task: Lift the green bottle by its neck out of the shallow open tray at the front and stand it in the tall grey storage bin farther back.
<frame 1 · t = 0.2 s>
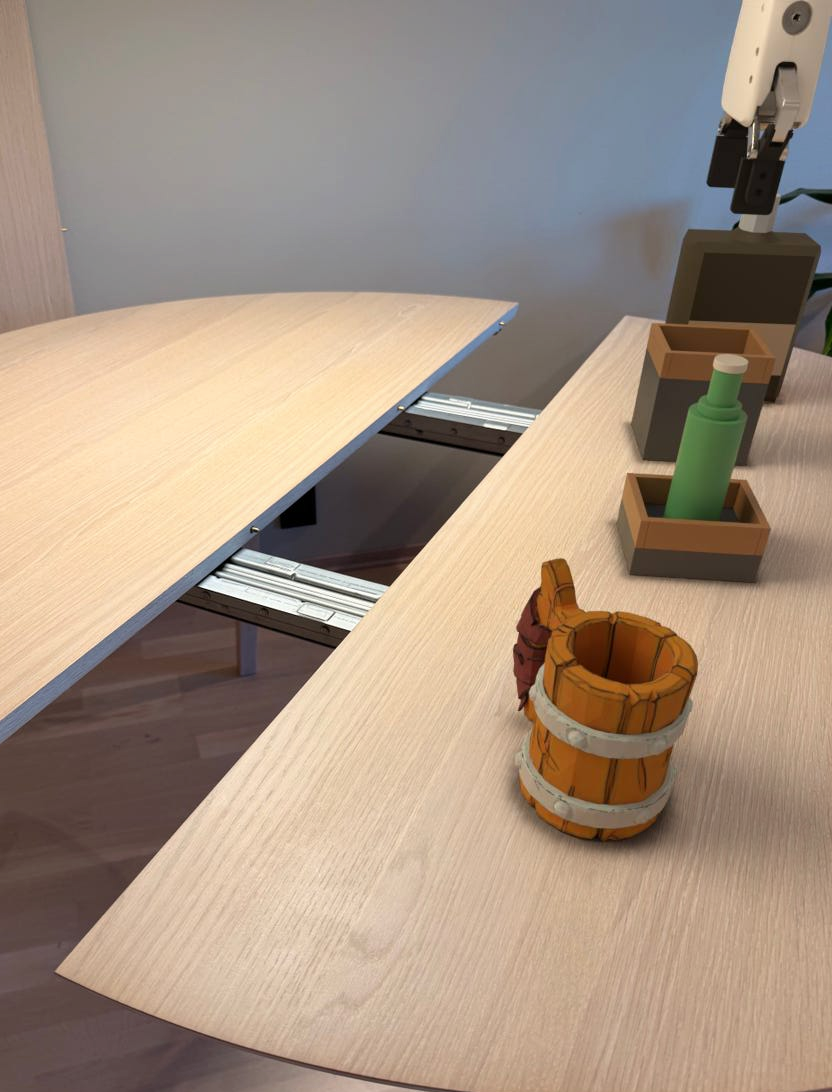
hand: (736, 199, 82), 33 cm above the table, tool pointing down, fingers open, 9 cm apart
shallow open tray: (682, 552, 99), on the table
mug: (570, 769, 74), on the table
green bottle: (689, 526, 97), point 3 cm above the table, touching shallow open tray
bottle: (714, 392, 134), on the table
grey storage bin: (686, 444, 120), on the table
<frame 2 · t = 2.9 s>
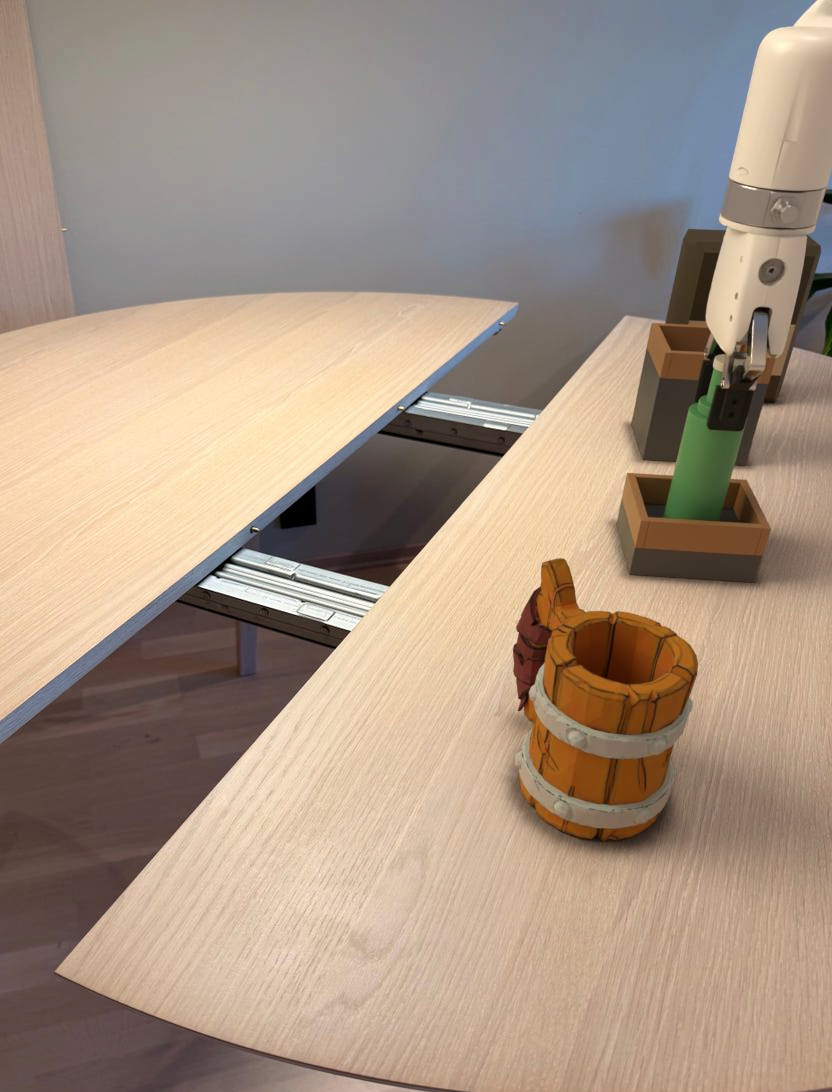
hand: (717, 413, 90), 15 cm above the table, tool pointing down, fingers closed on green bottle, 5 cm apart
green bottle: (689, 526, 97), point 3 cm above the table, touching gripper, shallow open tray
everything else where it was.
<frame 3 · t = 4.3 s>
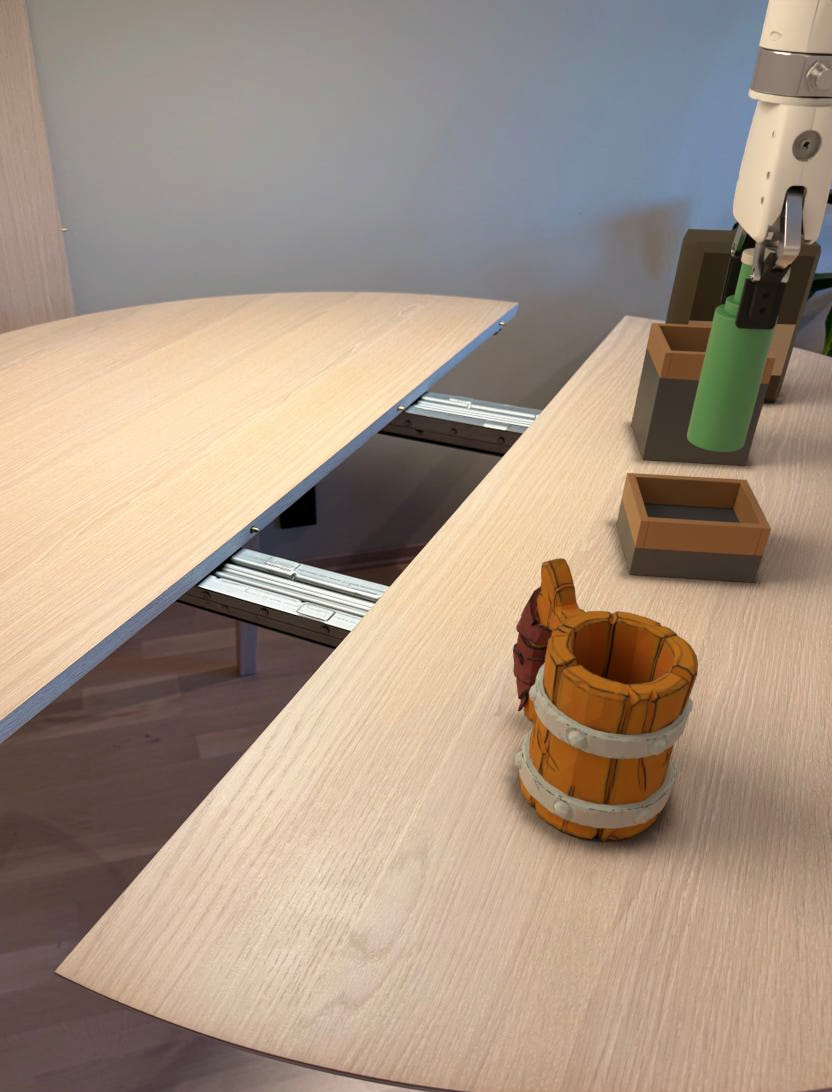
hand: (746, 313, 85), 24 cm above the table, tool pointing down, fingers closed on green bottle, 5 cm apart
green bottle: (715, 440, 92), point 12 cm above the table, touching gripper
everything else where it was.
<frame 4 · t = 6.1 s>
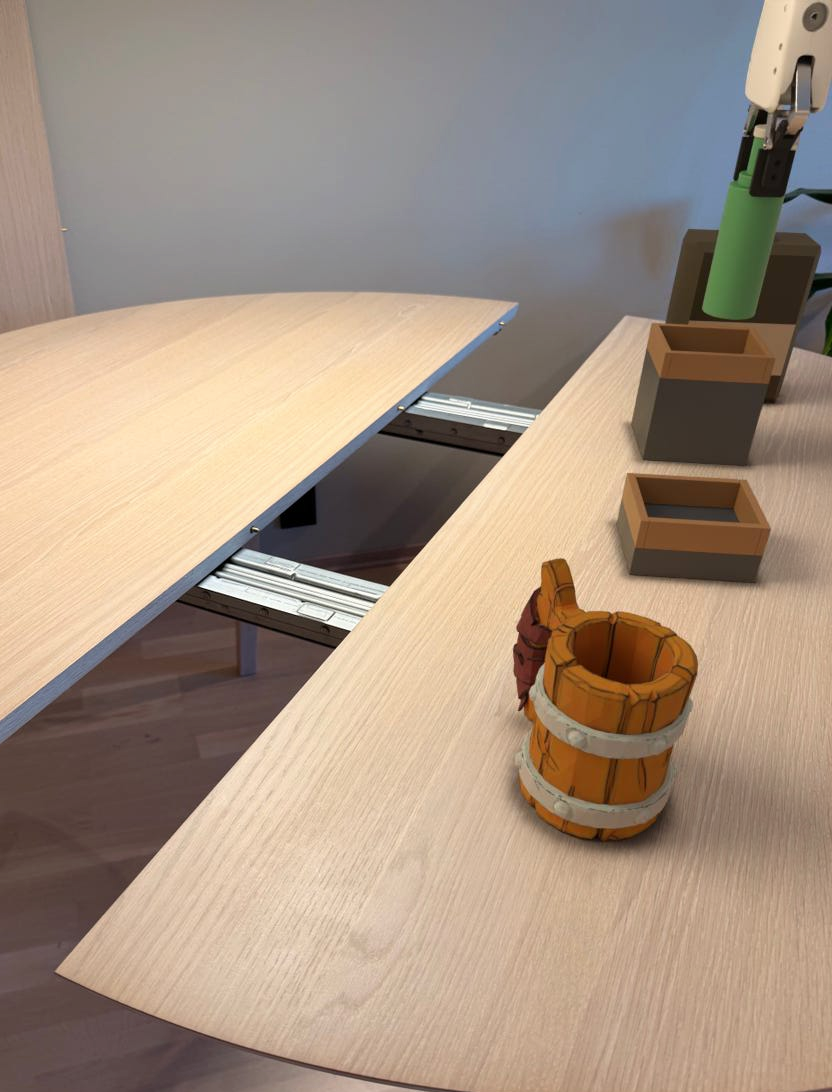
hand: (757, 187, 94), 31 cm above the table, tool pointing down, fingers closed on green bottle, 5 cm apart
green bottle: (728, 311, 101), point 19 cm above the table, touching gripper
everything else where it was.
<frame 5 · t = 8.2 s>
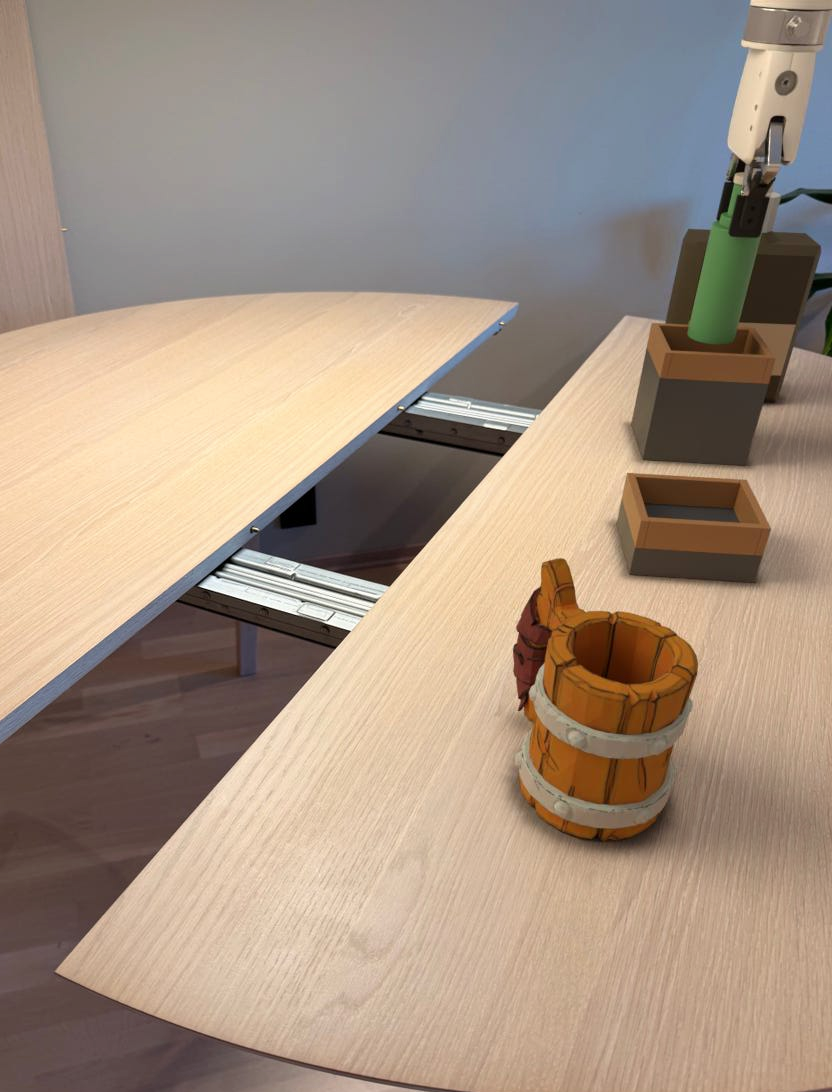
hand: (737, 227, 105), 25 cm above the table, tool pointing down, fingers closed on green bottle, 5 cm apart
green bottle: (710, 336, 112), point 13 cm above the table, touching gripper
everything else where it was.
when the fingers open (22 cm above the table, at t = 9.6 s): green bottle stays where it is, resting on grey storage bin.
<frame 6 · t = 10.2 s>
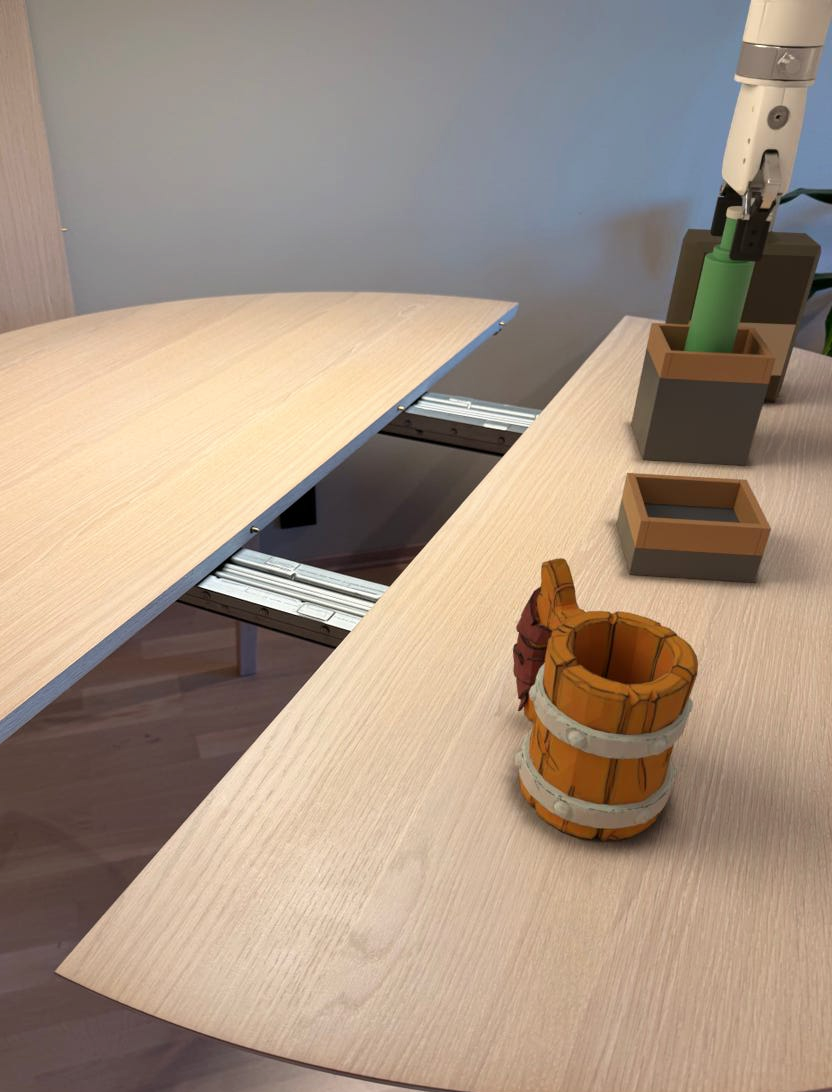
hand: (734, 247, 106), 23 cm above the table, tool pointing down, fingers open, 9 cm apart
green bottle: (704, 365, 114), point 10 cm above the table, touching grey storage bin
everything else where it was.
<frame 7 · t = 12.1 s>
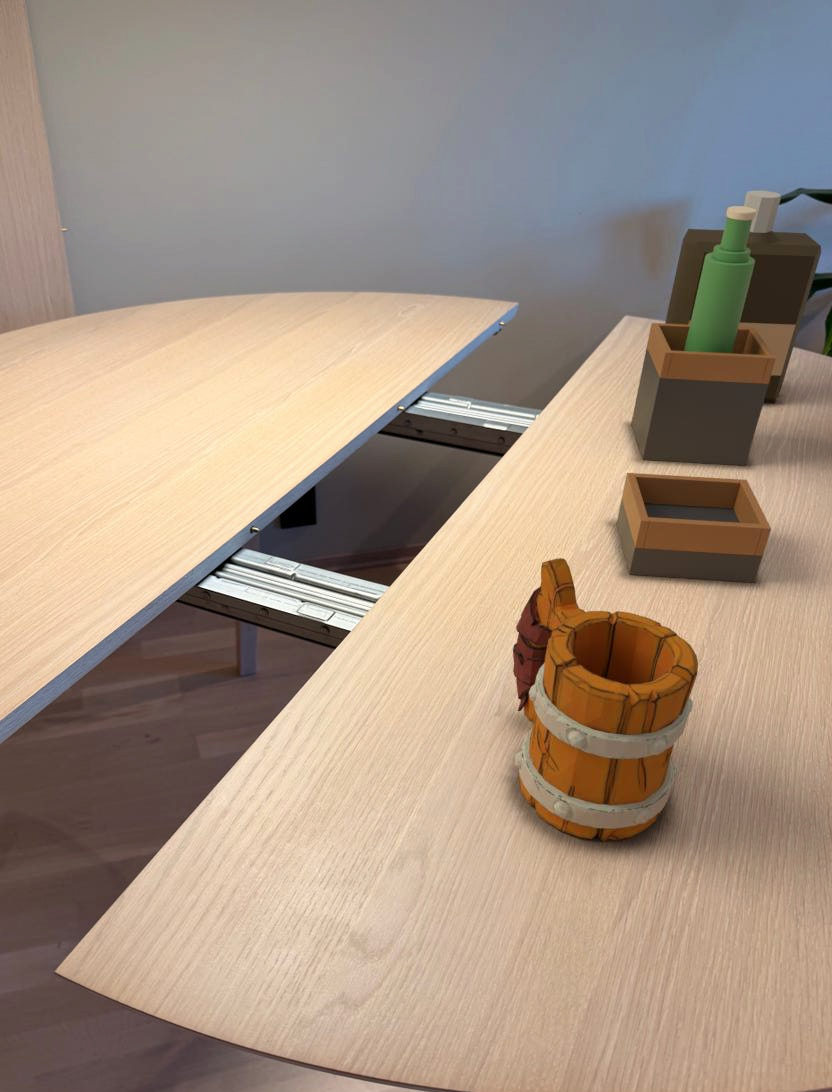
nothing on the table moved.
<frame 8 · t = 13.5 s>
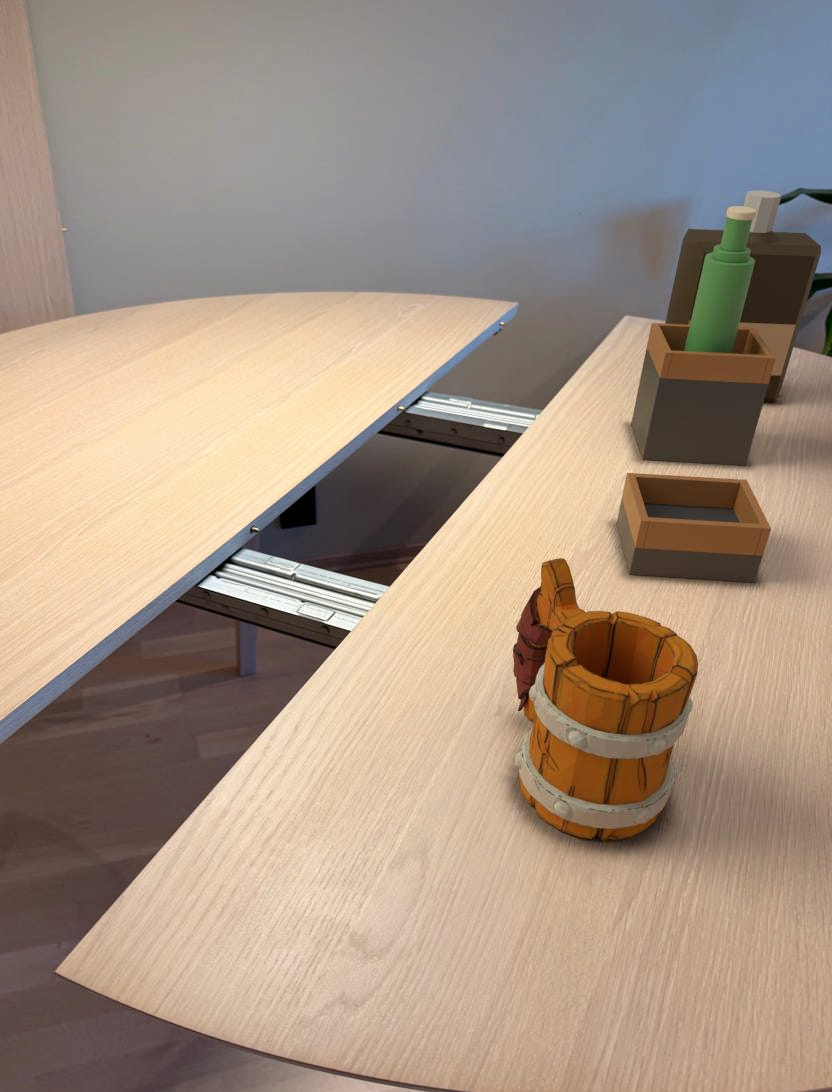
nothing on the table moved.
at the end: green bottle inside the target area on the grey storage bin (0.1 cm from its centre), point 10.0 cm above the grey storage bin's base; green bottle tilted 0°; the gripper is holding nothing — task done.
